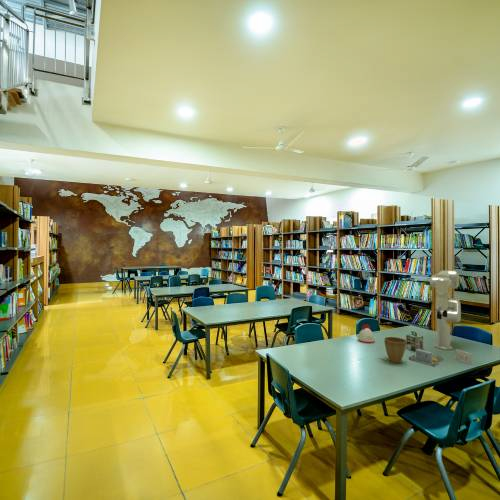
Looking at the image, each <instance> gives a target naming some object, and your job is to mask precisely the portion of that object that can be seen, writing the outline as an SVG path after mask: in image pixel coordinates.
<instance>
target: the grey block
mask: <svg viewBox="0 0 500 500" xmlns="http://www.w3.org/2000/svg"><path fill="white" fill-rule="evenodd" d="M432 355H433V352H431V351H427V350H425V349H424V350H420V349H417V350H416V352H415V357H416V359H418V360H422V361H426V362H429V363H431V362H432Z"/></svg>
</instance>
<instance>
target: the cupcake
mask: <svg viewBox="0 0 500 500" xmlns="http://www.w3.org/2000/svg"><path fill="white" fill-rule="evenodd" d="M361 327H362V329H361V330H360V331H359V332H358V333H359V334H358V336H357V341H358V342H359V343H362V344H369V345H371V344H374V343H376V342H375V341H376V340H375V336H374V333H373V331H372V330H371V326H370V325H368V324H366V323H365V324H363V326H361Z"/></svg>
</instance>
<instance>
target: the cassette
mask: <svg viewBox="0 0 500 500" xmlns="http://www.w3.org/2000/svg"><path fill="white" fill-rule="evenodd" d="M455 360H457V361H459V362H462V363H465V364H467V365H471V366H472V365H473V354H472V353H470V352H468V351H464V350H460V349H458V348H456V349H455Z"/></svg>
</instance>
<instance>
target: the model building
mask: <svg viewBox="0 0 500 500" xmlns="http://www.w3.org/2000/svg"><path fill="white" fill-rule="evenodd" d="M405 337H406V338H405V340H406V341H407V342H406V347H405V348H406V349H407V350H409V351H413V352H415V353H416V350H417V349H420V350H424V351H425V349H424V336H423V335H420V334H418V333H417V332H416V331H413V330H411V334H410V333H409V334H406V336H405Z"/></svg>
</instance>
